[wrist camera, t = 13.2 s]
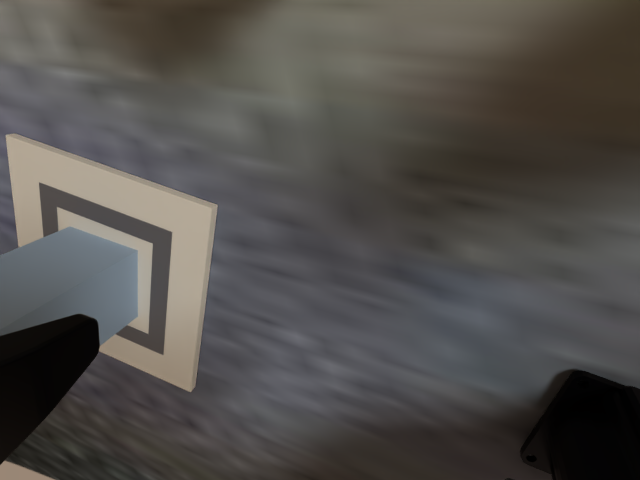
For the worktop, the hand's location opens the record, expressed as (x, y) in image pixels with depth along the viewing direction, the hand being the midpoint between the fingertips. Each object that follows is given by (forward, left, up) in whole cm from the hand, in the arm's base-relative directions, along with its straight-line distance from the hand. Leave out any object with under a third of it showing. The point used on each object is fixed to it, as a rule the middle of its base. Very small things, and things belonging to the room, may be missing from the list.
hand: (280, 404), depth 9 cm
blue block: (-10, +16, -13) cm, 22 cm away
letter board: (-10, +16, -13) cm, 23 cm away
